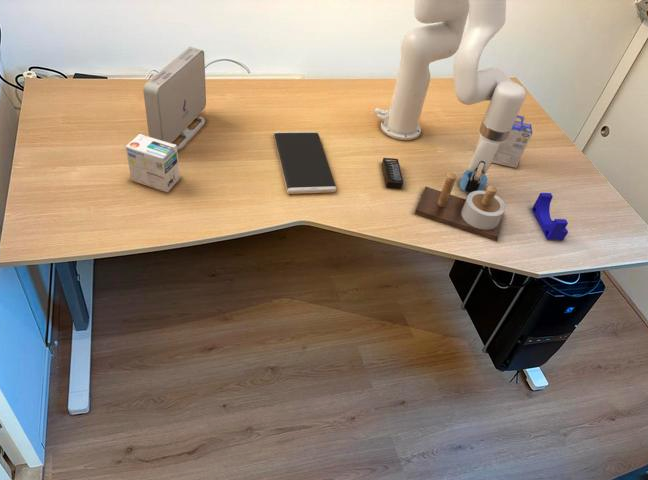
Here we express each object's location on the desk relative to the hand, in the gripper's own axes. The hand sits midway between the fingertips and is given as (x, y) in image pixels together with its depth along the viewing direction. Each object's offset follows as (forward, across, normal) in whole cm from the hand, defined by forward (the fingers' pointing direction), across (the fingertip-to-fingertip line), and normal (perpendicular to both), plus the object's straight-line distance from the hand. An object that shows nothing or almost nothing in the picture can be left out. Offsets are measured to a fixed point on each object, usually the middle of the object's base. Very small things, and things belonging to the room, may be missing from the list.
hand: (472, 184), depth 155 cm
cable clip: (+1, +6, +22) cm, 23 cm away
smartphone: (+1, +14, -46) cm, 48 cm away
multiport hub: (+1, +7, -22) cm, 23 cm away
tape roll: (+1, 0, 0) cm, 1 cm away
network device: (+1, +18, -83) cm, 85 cm away
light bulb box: (+1, +40, -77) cm, 87 cm away
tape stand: (+1, +14, -1) cm, 14 cm away
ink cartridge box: (+1, -18, +6) cm, 19 cm away
